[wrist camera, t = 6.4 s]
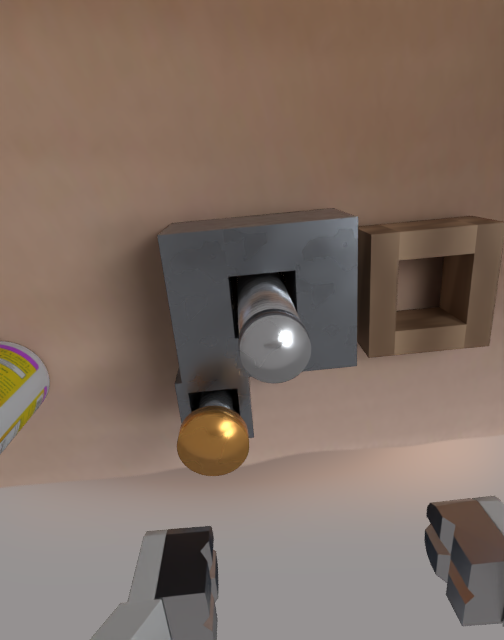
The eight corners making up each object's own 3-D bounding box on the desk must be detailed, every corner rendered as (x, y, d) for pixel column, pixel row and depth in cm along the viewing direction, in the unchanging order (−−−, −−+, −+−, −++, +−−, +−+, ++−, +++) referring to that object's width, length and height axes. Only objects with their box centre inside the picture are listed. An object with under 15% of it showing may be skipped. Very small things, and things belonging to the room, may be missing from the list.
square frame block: (471, 215, 30) (506, 222, 26) (460, 326, 33) (489, 345, 29) (353, 226, 30) (371, 234, 26) (353, 336, 33) (368, 357, 29)
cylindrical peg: (279, 256, 30) (310, 313, 18) (281, 300, 32) (313, 380, 19) (233, 261, 30) (235, 320, 18) (238, 304, 32) (242, 387, 19)
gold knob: (242, 365, 29) (245, 413, 24) (248, 415, 31) (252, 472, 25) (183, 371, 29) (171, 420, 24) (191, 421, 31) (182, 479, 25)
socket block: (333, 208, 29) (358, 216, 24) (335, 385, 35) (356, 427, 29) (164, 223, 29) (148, 236, 24) (192, 399, 34) (185, 444, 29)
